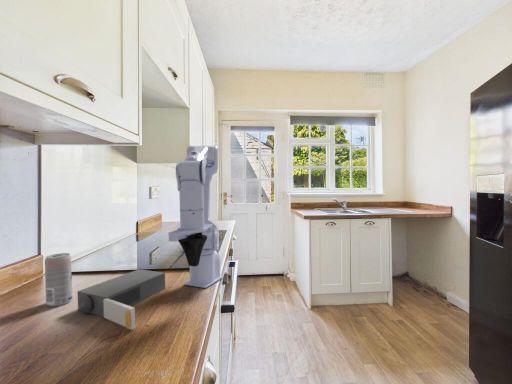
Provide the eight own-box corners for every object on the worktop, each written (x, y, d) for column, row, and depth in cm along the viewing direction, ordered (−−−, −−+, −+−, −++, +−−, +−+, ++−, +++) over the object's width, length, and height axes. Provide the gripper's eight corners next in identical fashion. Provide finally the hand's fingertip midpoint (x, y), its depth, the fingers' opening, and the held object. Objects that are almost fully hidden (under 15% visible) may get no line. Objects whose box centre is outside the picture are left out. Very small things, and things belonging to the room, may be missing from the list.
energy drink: (68, 296, 71) (67, 252, 71) (75, 301, 68) (73, 254, 67) (43, 303, 67) (42, 256, 67) (49, 309, 64) (47, 259, 63)
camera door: (135, 327, 53) (134, 307, 53) (129, 330, 52) (128, 310, 52) (107, 316, 58) (107, 298, 58) (101, 318, 57) (100, 300, 57)
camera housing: (139, 284, 79) (139, 269, 79) (165, 288, 75) (165, 273, 75) (73, 311, 62) (73, 292, 62) (103, 319, 58) (102, 299, 58)
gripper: (196, 207, 73) (198, 256, 73) (157, 212, 59) (159, 272, 60) (218, 207, 70) (220, 258, 70) (182, 212, 57) (184, 276, 57)
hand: (193, 265), depth 65 cm, fingers closed
